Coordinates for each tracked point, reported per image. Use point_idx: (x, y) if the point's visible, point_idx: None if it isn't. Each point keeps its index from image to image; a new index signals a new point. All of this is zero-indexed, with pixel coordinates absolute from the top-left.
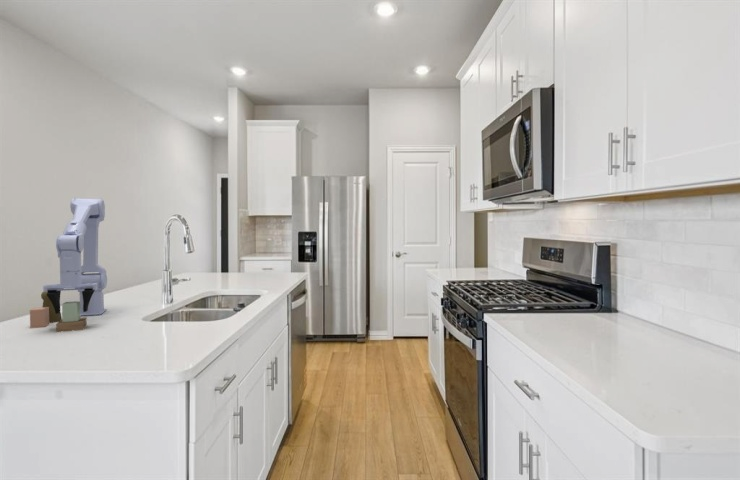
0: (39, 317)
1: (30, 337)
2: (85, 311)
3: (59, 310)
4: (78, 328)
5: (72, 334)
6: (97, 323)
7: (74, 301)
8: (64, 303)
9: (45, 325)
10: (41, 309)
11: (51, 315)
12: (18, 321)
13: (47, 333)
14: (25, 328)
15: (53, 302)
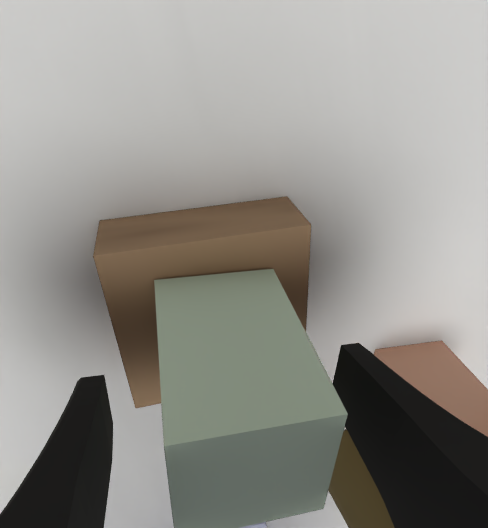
0: (438, 394)
1: (439, 65)
2: (81, 379)
3: (342, 393)
4: (132, 221)
5: (121, 43)
6: (69, 385)
7: (238, 526)
8: (324, 436)
9: None
10: None
11: None
12: None
13: (340, 169)
14: (462, 336)
15: (453, 430)
